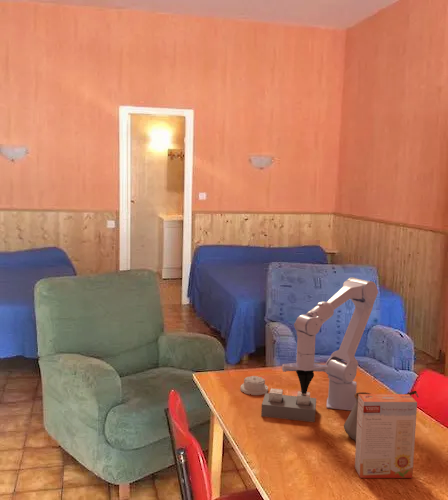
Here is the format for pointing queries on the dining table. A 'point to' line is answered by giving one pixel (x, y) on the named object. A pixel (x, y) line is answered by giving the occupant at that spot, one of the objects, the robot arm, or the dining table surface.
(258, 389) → the mechanical component
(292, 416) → the block
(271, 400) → the greyish pink cube
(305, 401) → the pink matte cube
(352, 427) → the coffee pot
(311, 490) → the dining table surface
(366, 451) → the cracker box
